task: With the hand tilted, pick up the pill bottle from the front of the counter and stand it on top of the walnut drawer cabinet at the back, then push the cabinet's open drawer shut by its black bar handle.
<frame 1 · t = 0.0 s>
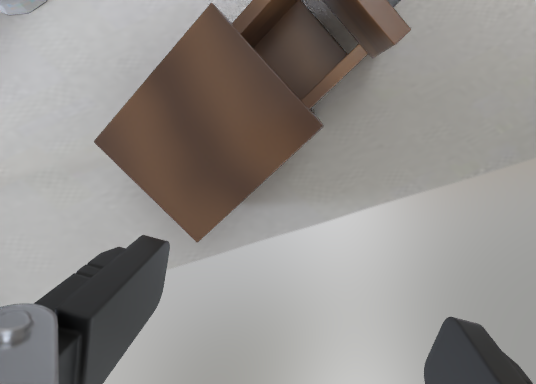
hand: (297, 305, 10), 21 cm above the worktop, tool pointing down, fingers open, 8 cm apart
drawer: (318, 27, 23), point 4 cm above the worktop, slide at 6.0 cm
cabinet: (231, 124, 30), on the worktop
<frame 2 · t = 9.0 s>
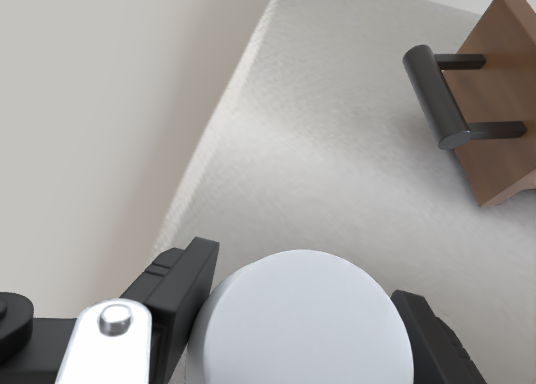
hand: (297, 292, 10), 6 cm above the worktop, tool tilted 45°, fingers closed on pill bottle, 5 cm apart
pill bottle: (266, 363, 15), on the worktop, touching gripper
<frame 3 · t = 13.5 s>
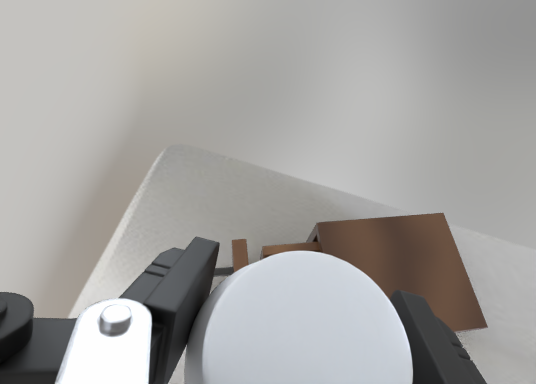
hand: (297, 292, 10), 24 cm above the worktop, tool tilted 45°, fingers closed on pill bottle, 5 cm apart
pill bottle: (266, 363, 15), point 18 cm above the worktop, touching gripper
drawer: (271, 295, 30), point 4 cm above the worktop, slide at 6.0 cm
cabinet: (362, 293, 35), on the worktop
when the fingers open (15 cm above the worktop, at t = 18.2 s): pill bottle stays where it is, resting on cabinet.
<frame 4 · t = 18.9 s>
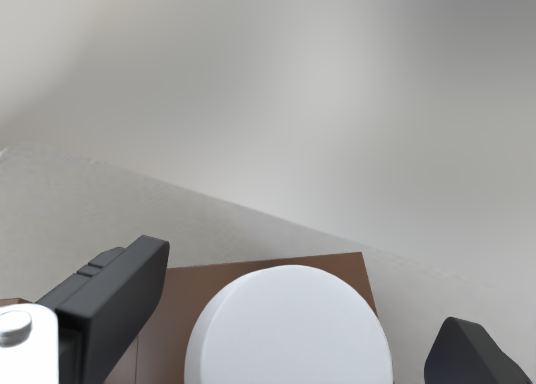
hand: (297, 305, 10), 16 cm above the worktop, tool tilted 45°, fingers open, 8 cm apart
pill bottle: (263, 366, 16), point 8 cm above the worktop, touching cabinet
cabinet: (256, 365, 23), on the worktop
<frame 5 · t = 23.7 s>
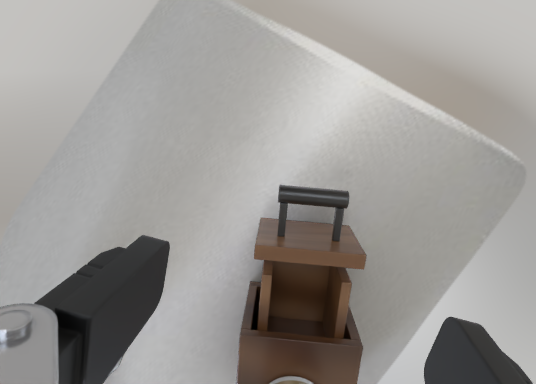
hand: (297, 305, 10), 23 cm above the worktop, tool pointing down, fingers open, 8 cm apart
drawer: (303, 268, 29), point 4 cm above the worktop, slide at 6.0 cm
cabinet: (291, 334, 36), on the worktop
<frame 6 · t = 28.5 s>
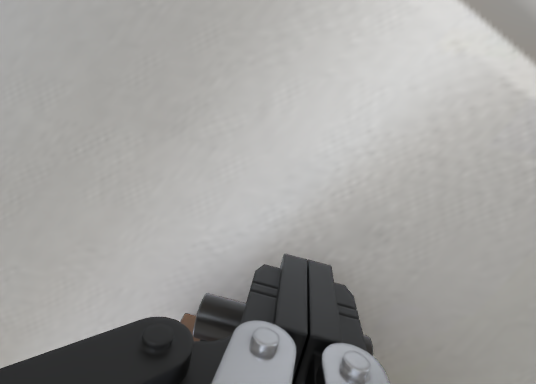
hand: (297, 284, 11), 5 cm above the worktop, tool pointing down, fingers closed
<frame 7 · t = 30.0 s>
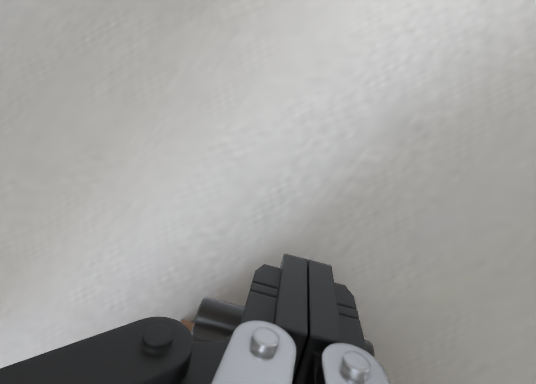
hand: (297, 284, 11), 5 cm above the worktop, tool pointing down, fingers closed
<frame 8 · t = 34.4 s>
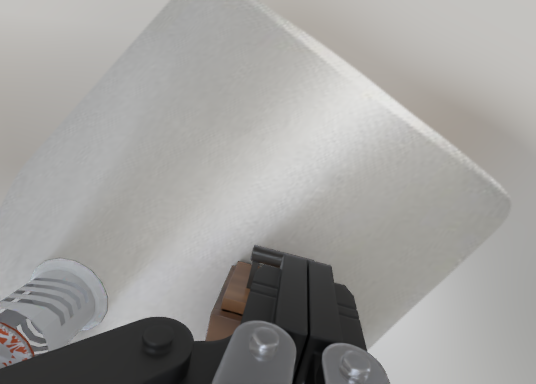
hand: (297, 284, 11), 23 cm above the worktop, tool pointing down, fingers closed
drawer: (266, 316, 33), point 4 cm above the worktop, slide at 0.0 cm
french press: (62, 292, 40), on the worktop
cabinet: (263, 320, 38), on the worktop
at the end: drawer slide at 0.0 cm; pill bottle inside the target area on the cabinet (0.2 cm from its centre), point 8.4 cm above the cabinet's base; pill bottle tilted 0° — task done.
